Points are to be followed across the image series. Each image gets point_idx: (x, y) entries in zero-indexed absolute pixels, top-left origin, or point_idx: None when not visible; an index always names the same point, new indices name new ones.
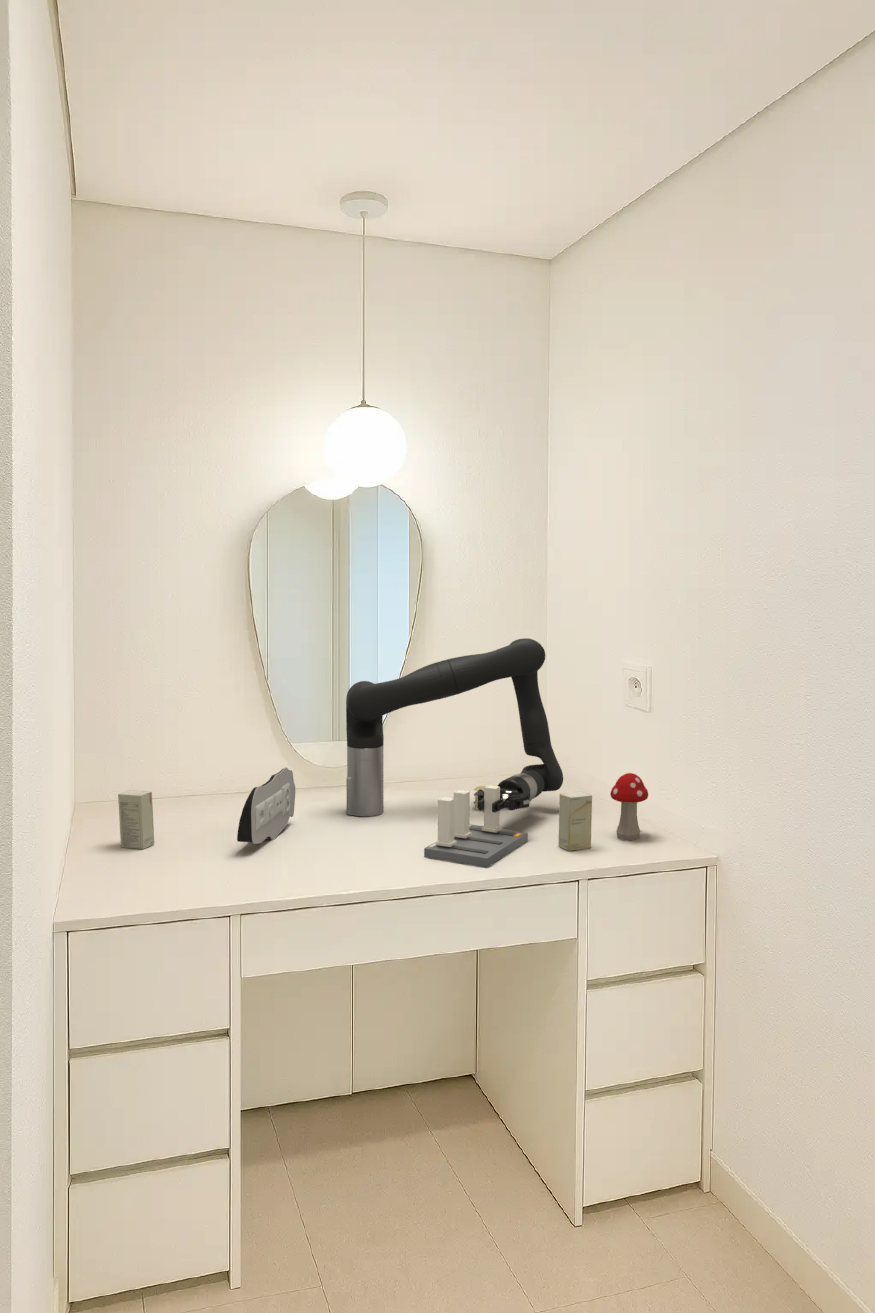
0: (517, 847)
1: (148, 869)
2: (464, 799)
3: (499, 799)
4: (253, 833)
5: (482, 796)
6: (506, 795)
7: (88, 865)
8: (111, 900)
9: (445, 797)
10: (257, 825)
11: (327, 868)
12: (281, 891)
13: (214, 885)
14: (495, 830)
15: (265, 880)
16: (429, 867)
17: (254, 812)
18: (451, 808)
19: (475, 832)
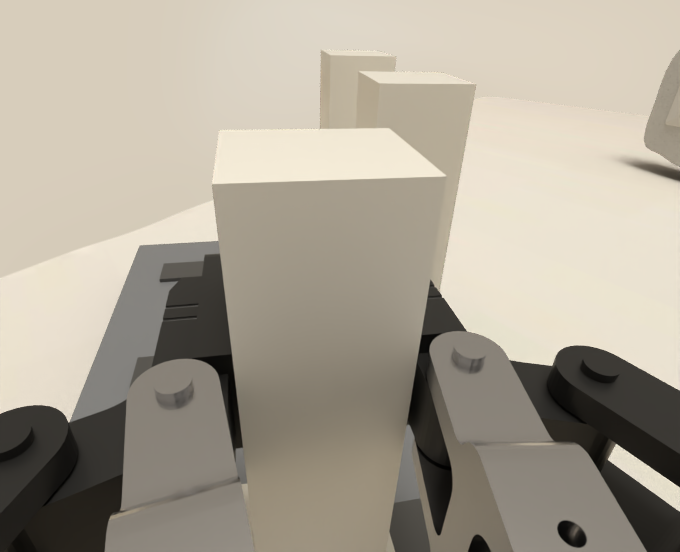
0: None
1: (617, 128)
2: (358, 113)
3: (234, 367)
4: (653, 124)
5: (557, 383)
6: (155, 503)
7: None
8: (514, 106)
9: (382, 55)
10: (671, 113)
11: (474, 174)
12: None
13: (500, 127)
14: (247, 485)
15: (479, 141)
16: None
17: (677, 78)
18: (323, 95)
19: (402, 464)
